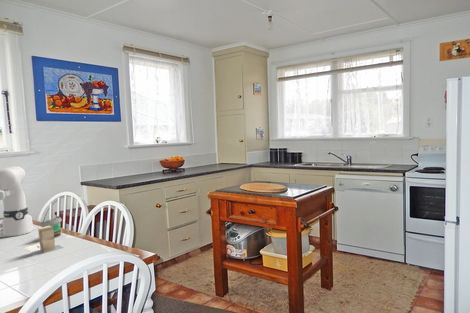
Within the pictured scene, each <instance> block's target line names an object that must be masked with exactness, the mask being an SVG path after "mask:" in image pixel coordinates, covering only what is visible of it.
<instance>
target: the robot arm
mask: <svg viewBox="0 0 470 313" xmlns="http://www.w3.org/2000/svg"><path fill="white" fill-rule="evenodd" d="M26 175H27V174H26V170H25V169H24V168H22V167H21V166H18V165H12V166H8V167H4V168H2V169H0V201H1V200H2V204H3V219H2V222H1V223H0V238H5V237H7V238H8V237H17V236H22V235H25V234H28V233H31V232H33V231H35V230H36V229H37V227H36V226H34V222H33V219H32V218H33V217H32V215H30V214H29V209H28V206H27V199H26V198H27V197H26V194H25V192H24V188H23V185H22V182H24V180H25V179H26Z"/></svg>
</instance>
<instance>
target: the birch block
mask: <svg viewBox="0 0 470 313" xmlns="http://www.w3.org/2000/svg"><path fill="white" fill-rule="evenodd" d="M37 229H38V230H37V232H38V239H39V244H40V249H39V250H41V251H42V252H48V251H51V250H55V244H56V242H55V241H56V240H55V238H54V231H53V227H51V226H45V227H42V226H41V227H38V228H37ZM55 251H56V250H55ZM51 252H52V251H51ZM48 253H49V252H48Z"/></svg>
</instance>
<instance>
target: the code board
mask: <svg viewBox="0 0 470 313" xmlns="http://www.w3.org/2000/svg"><path fill="white" fill-rule="evenodd" d="M24 249H26V250H27V251H29V252H31V253H33V254H34V255H36V256H40V255H44V254H47V253H50V252H54V251H59V250H61V249H65V247H64V246H62V245H59V244H57V243H55V250H51V251H48V252H42V251H41V250H40V243H36V244H33V245H30V246H26V247H24Z"/></svg>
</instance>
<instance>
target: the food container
mask: <svg viewBox="0 0 470 313" xmlns="http://www.w3.org/2000/svg"><path fill="white" fill-rule="evenodd" d="M62 221H63V220H62V218H61V216H59V215H56V216H55V218H51V219H48V220H46V221H41V222H40V226H41V227H45V226H51V227H53V231H54V239H55V238H58V237H60V236H61V230H62V228H61V222H62Z"/></svg>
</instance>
